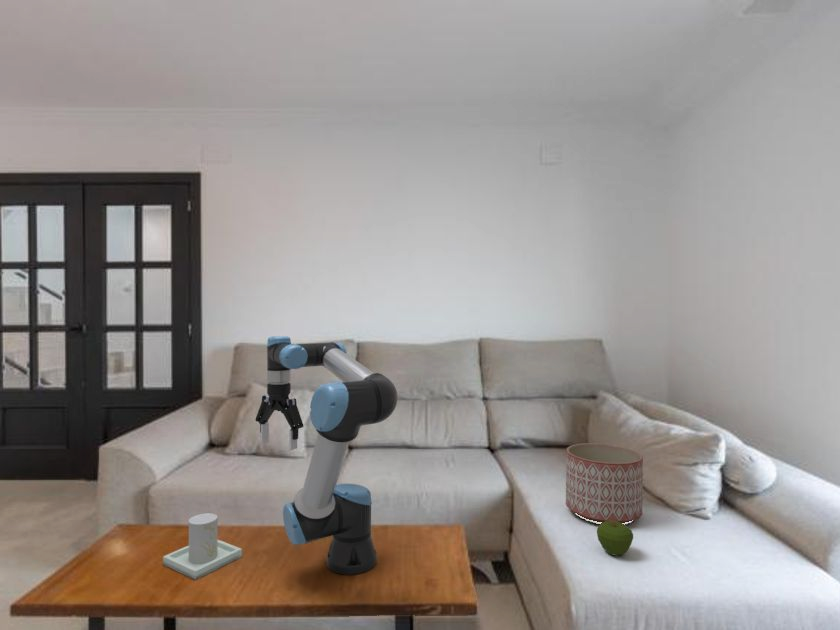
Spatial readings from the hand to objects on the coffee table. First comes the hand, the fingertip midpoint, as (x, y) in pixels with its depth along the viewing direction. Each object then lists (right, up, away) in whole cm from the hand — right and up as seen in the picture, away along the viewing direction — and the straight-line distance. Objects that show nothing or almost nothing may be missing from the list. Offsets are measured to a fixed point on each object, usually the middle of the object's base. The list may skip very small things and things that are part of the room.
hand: (278, 446), depth 168 cm
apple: (+110, -33, -7) cm, 115 cm away
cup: (-19, -31, -13) cm, 39 cm away
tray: (-19, -32, -13) cm, 40 cm away
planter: (+117, -32, +24) cm, 124 cm away
